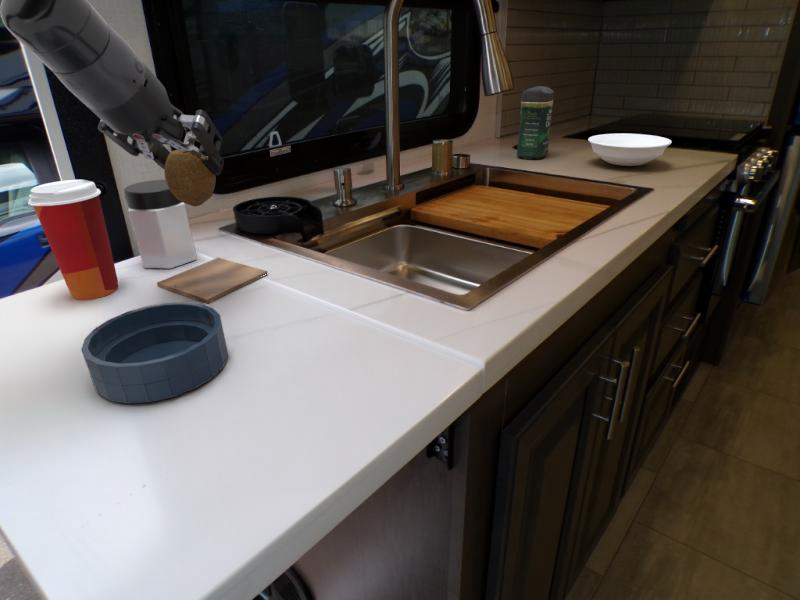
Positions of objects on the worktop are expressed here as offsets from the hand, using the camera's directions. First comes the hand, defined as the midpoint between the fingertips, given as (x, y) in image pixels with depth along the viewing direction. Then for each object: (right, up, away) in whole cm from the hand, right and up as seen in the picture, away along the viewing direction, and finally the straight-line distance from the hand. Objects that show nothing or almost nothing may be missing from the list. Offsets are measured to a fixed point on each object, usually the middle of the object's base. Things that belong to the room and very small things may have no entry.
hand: (196, 168), depth 70 cm
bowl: (+86, +17, +66) cm, 110 cm away
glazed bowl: (+2, -25, -14) cm, 29 cm away
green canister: (+65, +23, +79) cm, 105 cm away
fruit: (0, -5, +1) cm, 5 cm away
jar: (-10, -11, +14) cm, 21 cm away
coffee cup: (-16, -17, +4) cm, 23 cm away
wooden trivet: (0, -15, +6) cm, 16 cm away
